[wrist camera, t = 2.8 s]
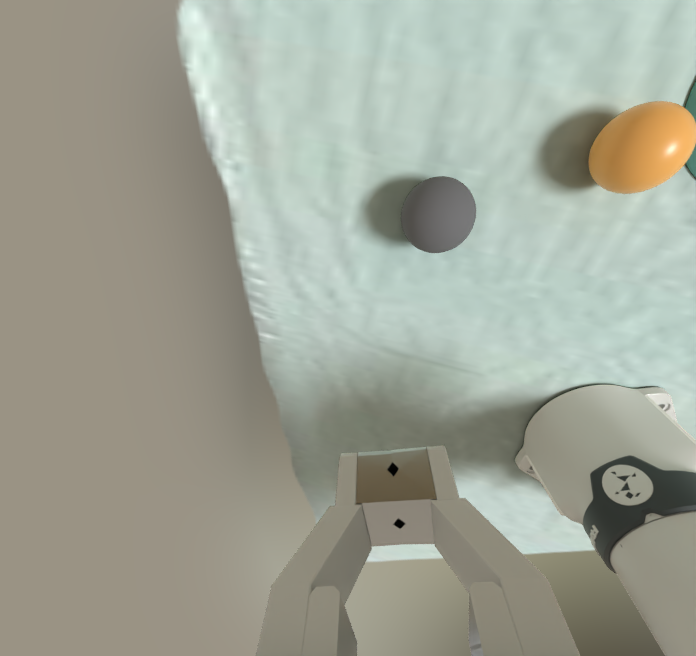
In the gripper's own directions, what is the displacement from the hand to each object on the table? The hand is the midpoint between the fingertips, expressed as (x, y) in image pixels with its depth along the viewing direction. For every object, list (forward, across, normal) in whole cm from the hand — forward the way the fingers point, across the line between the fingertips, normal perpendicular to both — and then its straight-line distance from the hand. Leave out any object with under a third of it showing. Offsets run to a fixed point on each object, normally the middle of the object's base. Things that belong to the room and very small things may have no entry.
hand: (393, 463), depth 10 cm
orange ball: (+22, -20, -5) cm, 30 cm away
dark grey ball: (+22, -6, -3) cm, 23 cm away
